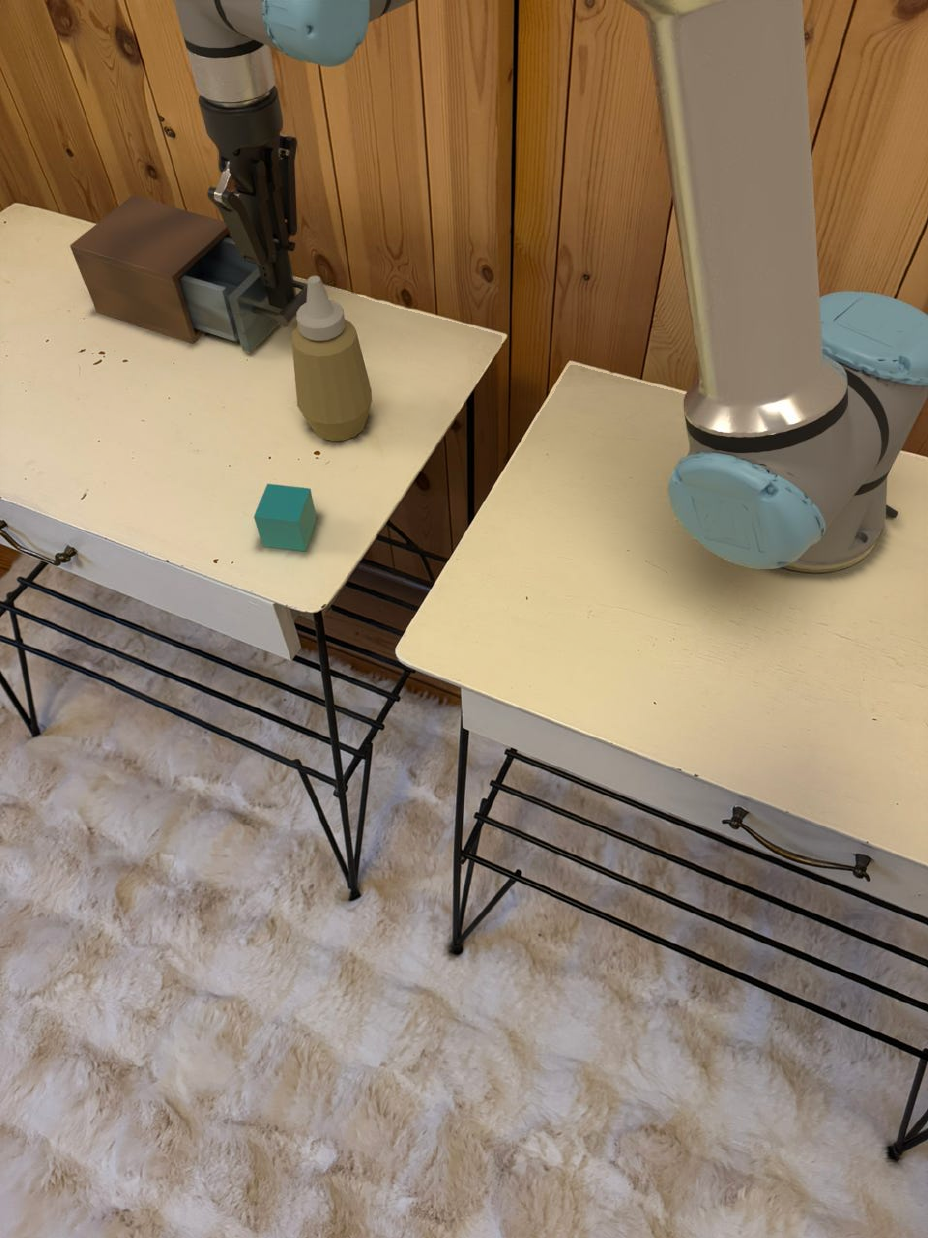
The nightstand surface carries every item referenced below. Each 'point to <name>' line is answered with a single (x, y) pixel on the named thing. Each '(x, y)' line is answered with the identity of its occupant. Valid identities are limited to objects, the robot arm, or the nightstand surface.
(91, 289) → the drawer cabinet
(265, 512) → the teal rectangular block
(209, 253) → the grey drawer
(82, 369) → the nightstand surface
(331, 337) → the squeeze bottle
